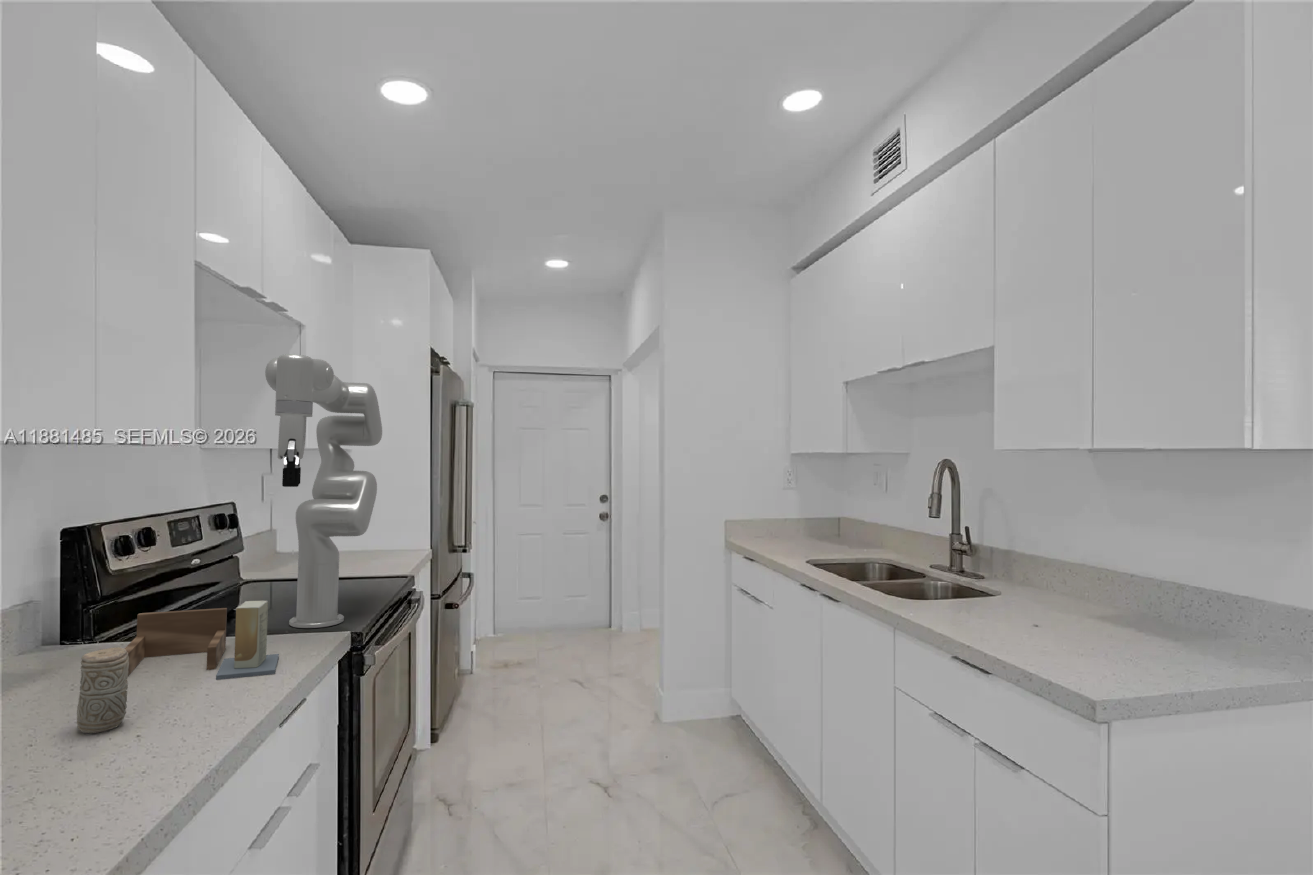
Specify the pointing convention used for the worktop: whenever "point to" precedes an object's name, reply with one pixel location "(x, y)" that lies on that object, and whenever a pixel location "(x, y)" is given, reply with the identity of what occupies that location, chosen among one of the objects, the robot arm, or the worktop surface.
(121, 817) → the worktop surface
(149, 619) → the shelf bay
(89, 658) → the carving
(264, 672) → the slate pad
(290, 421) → the robot arm
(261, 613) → the skincare box
